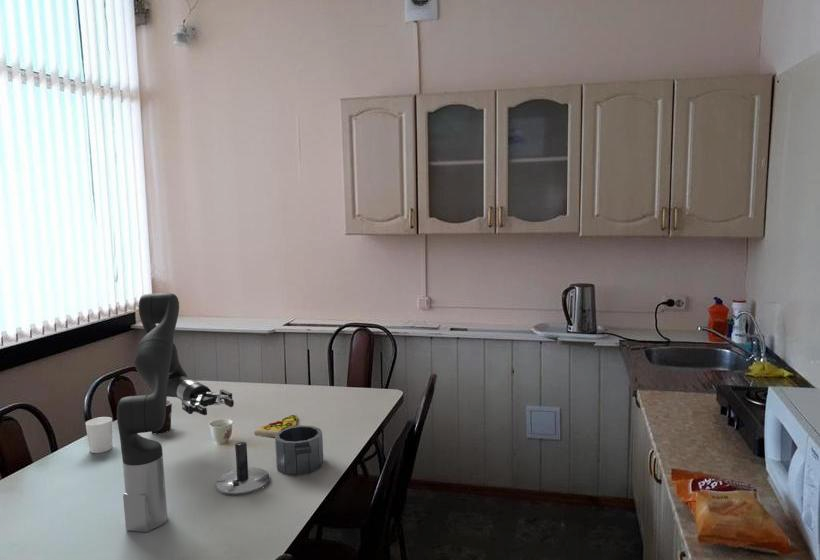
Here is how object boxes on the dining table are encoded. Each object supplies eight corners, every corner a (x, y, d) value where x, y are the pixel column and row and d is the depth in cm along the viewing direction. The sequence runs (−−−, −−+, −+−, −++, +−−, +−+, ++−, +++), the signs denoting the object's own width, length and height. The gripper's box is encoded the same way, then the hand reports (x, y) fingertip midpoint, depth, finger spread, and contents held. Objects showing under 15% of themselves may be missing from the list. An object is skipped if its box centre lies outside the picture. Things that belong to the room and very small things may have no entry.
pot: (328, 474, 175) (327, 442, 173) (280, 482, 170) (279, 449, 169) (317, 449, 193) (315, 420, 192) (273, 455, 189) (272, 426, 188)
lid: (255, 497, 162) (253, 456, 160) (205, 493, 165) (203, 453, 163) (277, 473, 176) (275, 435, 175) (231, 470, 179) (229, 433, 178)
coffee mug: (164, 435, 209) (162, 408, 208) (143, 434, 211) (141, 407, 209) (183, 423, 220) (181, 398, 219) (162, 422, 222) (160, 397, 221)
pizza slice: (251, 437, 207) (251, 429, 206) (278, 417, 227) (278, 409, 226) (292, 440, 203) (291, 432, 203) (315, 419, 223) (315, 411, 222)
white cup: (82, 451, 196) (80, 422, 195) (104, 443, 203) (102, 415, 202) (97, 455, 193) (95, 426, 191) (119, 447, 200) (117, 418, 198)
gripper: (170, 388, 181) (195, 402, 170) (213, 377, 191) (240, 389, 180) (172, 411, 182) (197, 427, 171) (215, 398, 192) (241, 412, 181)
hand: (219, 407), depth 175 cm, fingers open, 8 cm apart
